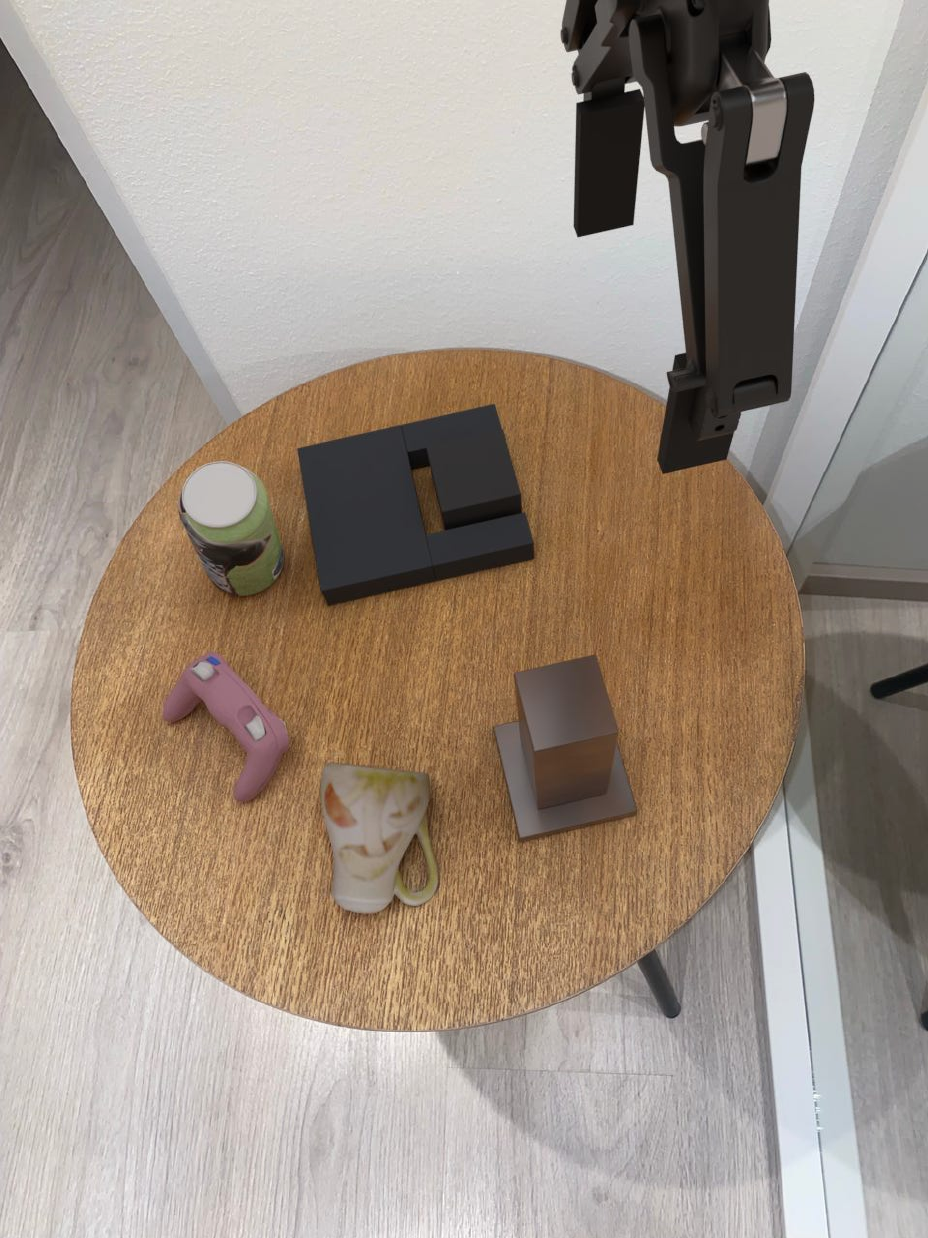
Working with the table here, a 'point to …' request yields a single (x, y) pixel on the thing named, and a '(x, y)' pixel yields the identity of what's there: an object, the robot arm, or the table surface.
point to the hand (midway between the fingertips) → (644, 335)
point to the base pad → (396, 512)
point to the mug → (375, 833)
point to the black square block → (474, 479)
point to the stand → (563, 751)
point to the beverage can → (231, 527)
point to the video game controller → (232, 718)
